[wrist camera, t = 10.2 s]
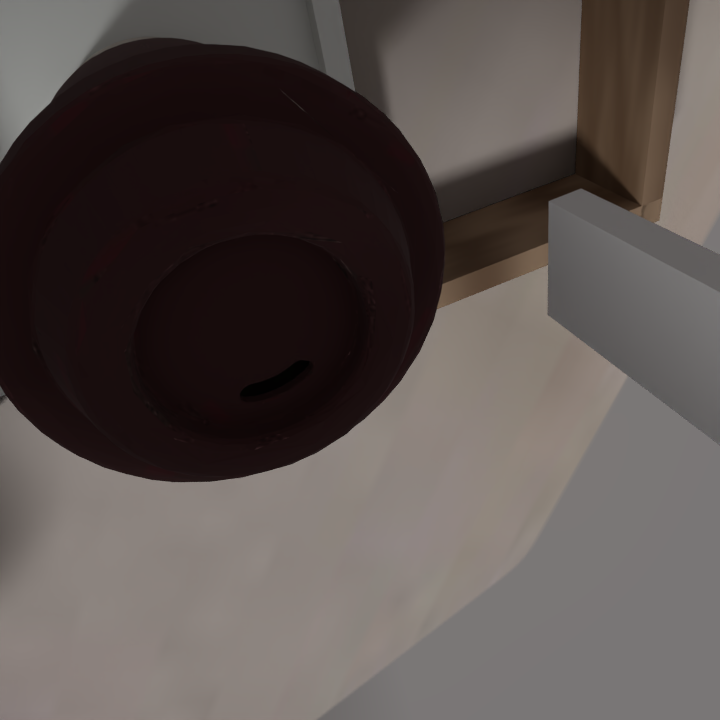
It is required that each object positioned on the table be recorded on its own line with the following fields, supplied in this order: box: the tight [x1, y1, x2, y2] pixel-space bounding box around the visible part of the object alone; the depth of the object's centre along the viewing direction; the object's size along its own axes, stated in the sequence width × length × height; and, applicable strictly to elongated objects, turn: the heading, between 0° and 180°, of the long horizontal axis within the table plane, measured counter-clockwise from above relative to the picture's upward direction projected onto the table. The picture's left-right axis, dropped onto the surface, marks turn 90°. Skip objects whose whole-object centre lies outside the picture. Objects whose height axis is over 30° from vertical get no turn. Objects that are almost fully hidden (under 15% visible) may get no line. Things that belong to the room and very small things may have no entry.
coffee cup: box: [0, 37, 445, 482], centre depth 18 cm, size 10×10×15 cm
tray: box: [0, 0, 355, 396], centre depth 20 cm, size 21×19×9 cm
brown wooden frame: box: [437, 0, 690, 309], centre depth 24 cm, size 20×19×5 cm
